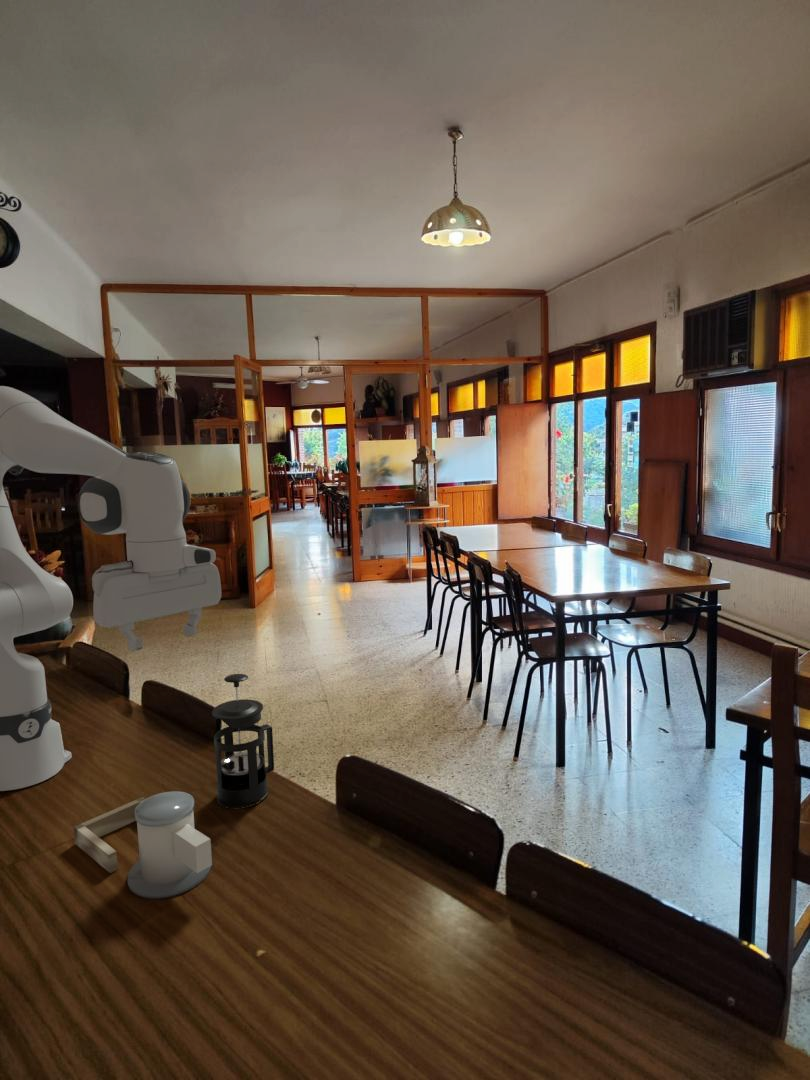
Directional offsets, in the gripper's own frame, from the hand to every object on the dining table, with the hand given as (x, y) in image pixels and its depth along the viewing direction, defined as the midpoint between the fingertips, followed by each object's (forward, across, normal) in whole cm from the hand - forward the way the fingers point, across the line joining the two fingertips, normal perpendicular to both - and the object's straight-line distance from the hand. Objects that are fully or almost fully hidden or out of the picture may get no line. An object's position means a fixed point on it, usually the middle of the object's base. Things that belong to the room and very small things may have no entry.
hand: (163, 642), depth 105 cm
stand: (+33, -6, +5) cm, 34 cm away
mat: (+33, -6, -8) cm, 35 cm away
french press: (+33, +15, +2) cm, 37 cm away
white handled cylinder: (+33, -6, -11) cm, 35 cm away
